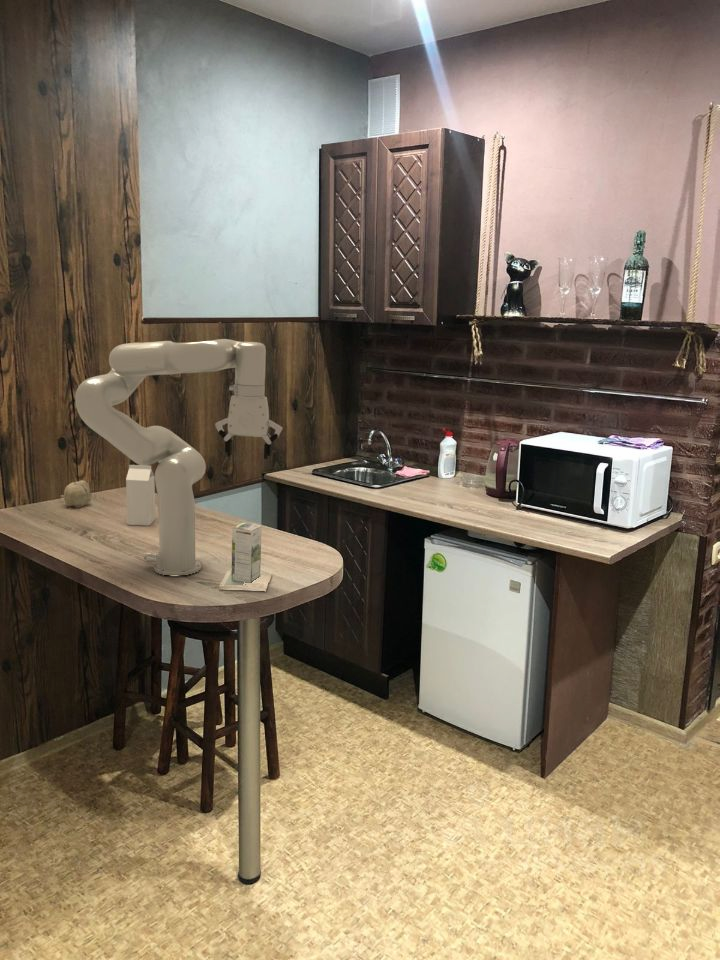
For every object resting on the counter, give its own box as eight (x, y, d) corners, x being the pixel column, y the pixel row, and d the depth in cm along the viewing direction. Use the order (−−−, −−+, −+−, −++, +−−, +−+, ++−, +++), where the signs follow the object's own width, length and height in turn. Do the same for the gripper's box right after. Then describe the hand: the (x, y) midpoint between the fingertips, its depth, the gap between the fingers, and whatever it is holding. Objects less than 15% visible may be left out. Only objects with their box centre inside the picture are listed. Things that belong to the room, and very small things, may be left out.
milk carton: (149, 526, 254) (148, 468, 250) (127, 525, 254) (125, 467, 250) (155, 520, 261) (154, 463, 257) (133, 519, 261) (132, 462, 257)
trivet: (219, 590, 203) (219, 586, 202) (227, 573, 214) (227, 570, 214) (266, 592, 203) (266, 588, 202) (272, 575, 214) (272, 572, 214)
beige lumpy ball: (89, 510, 277) (98, 483, 277) (82, 513, 269) (92, 485, 268) (63, 501, 276) (72, 474, 276) (55, 503, 268) (65, 476, 268)
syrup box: (241, 573, 212) (241, 521, 208) (261, 577, 210) (261, 524, 207) (231, 580, 206) (231, 527, 203) (251, 584, 205) (252, 530, 201)
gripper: (212, 390, 199) (211, 457, 203) (281, 395, 198) (278, 462, 202) (219, 387, 206) (218, 451, 210) (285, 391, 205) (283, 456, 209)
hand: (247, 457), depth 206 cm, fingers open, 9 cm apart
